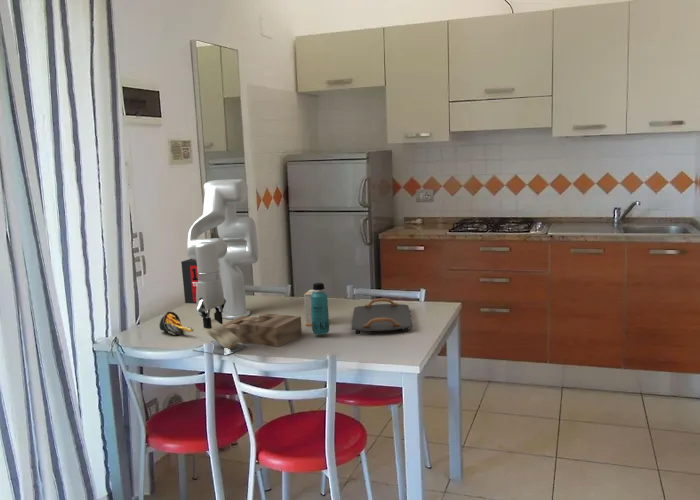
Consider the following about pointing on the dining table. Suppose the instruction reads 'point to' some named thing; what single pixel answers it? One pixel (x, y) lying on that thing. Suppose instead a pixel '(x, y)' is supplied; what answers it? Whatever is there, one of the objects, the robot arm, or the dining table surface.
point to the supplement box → (308, 306)
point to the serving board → (381, 317)
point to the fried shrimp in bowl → (172, 324)
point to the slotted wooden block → (265, 329)
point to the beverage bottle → (319, 310)
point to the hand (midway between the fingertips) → (213, 325)
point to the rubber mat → (220, 349)
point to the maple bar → (222, 335)
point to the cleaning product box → (190, 279)
